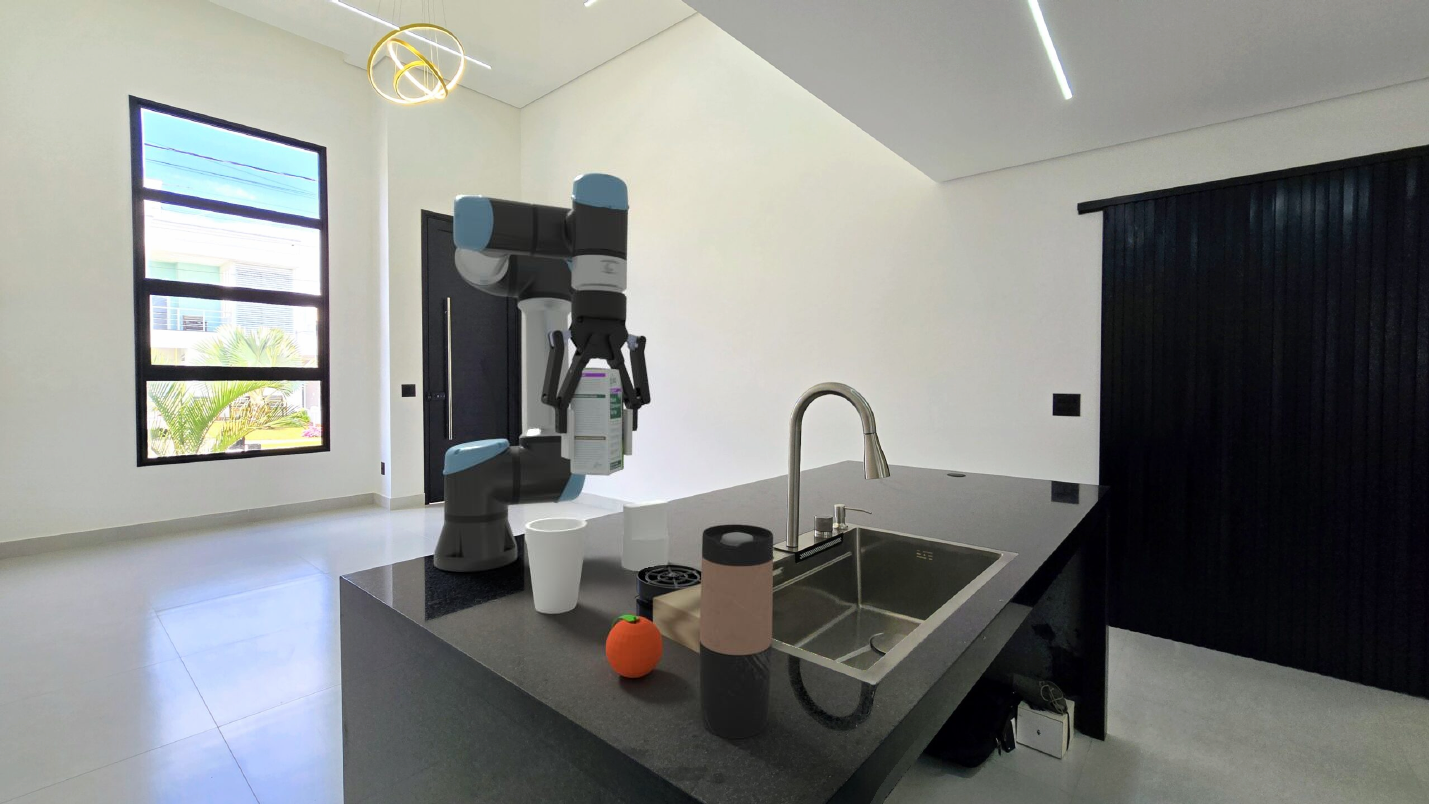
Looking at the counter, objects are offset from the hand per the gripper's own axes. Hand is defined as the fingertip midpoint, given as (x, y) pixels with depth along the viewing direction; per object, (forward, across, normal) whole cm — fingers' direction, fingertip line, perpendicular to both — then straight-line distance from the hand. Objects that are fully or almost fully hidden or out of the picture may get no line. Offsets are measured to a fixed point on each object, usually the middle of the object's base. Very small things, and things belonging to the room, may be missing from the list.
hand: (597, 455), depth 84 cm
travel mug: (+25, +4, -28) cm, 38 cm away
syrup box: (+2, 0, 0) cm, 2 cm away
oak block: (+26, +14, -8) cm, 30 cm away
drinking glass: (+25, +21, +25) cm, 41 cm away
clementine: (+25, -1, -13) cm, 29 cm away
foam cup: (+25, -1, +13) cm, 29 cm away
